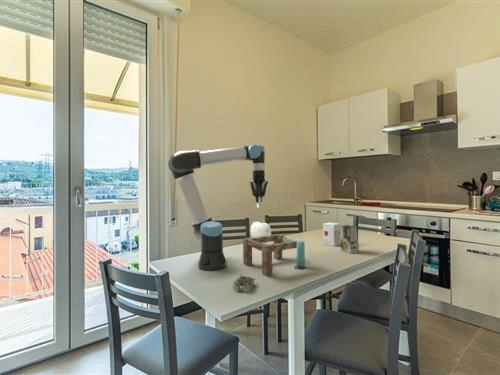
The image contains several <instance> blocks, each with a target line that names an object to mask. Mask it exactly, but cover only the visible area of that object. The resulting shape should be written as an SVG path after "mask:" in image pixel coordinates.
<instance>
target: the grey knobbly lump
mask: <svg viewBox="0 0 500 375" xmlns="http://www.w3.org/2000/svg"><path fill="white" fill-rule="evenodd" d="M255 281H256V278H255V277H254V278H253V277H252V276H245V275H243V274H242V275H240V276H239V277H238V278H236V280H235V281H233V282H232V286H233V290H234V291H236V292H237V293H238V292H243V293H247V292H250V291H251V289H252V288H253V287H254V286H255Z"/></svg>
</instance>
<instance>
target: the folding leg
mask: <svg viewBox="0 0 500 375" xmlns="http://www.w3.org/2000/svg"><path fill="white" fill-rule="evenodd" d="M291 241H295V242H297V248H296V264H297V265H296V266H298V267H306V253H305V251H306V250H305V248H306V247H305V241H299V240H295V239H291V238H287V237H286V236H284V237H283V242H282V243H284V242H291Z"/></svg>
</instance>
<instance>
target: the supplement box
mask: <svg viewBox="0 0 500 375" xmlns="http://www.w3.org/2000/svg"><path fill="white" fill-rule="evenodd" d="M341 226H342V224H341V223H338V222H325V223H323V224H322V230H323V231H322V232H323V235H322V236H323V237H322V238H323V240H322V241H323V245H324V246H330V247H337V246H341Z"/></svg>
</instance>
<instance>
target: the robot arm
mask: <svg viewBox="0 0 500 375" xmlns="http://www.w3.org/2000/svg"><path fill="white" fill-rule="evenodd" d="M265 151H266V150H265V146H264V145H261V144H260V145H259V144H251V145H245V146H236V147H229V148H220V149H213V150H203V151H199V150H198V149H196V150H180V151H176V152H175V153H173V154H172V155H171V156H170V157H169V159H168V163H167V166H168V168H169V171H170V172H171V173H172V175H173V179H174V180H175V181H177V182H178V184H179V186H180V189H181V191H182V194H183V197H184V199H185V202H186V205H187V208H188V210H189V213H190V216H191V218H192V222H191V226H192V229H193V235H194V237H195V238H196V239H197V240H198V241H199V242H200V250H201V251H200V252H201V253H200V256H199V259H198V263H197V266H198V269H199V270H202V271H216V270H222V269H224V268H226V267H227V259H226V256H225V253H224V247H223V246H224V244H223V242H224V240H223V237H224V234H223V232H224V231H223V224H222V223H221V222H218V221H213V219H212V216H211V215H208V214H207V211H206V209H205V205H204V203H203V200H202V197H201V194H200V192H199V189H198V186H197V184H196V181H195V178H194V175H195V171H194V170H196V169H201V168H202V167H204V166H210V165H217V164H223V163H230V162H238V161H239V162H241V161H252V180H250V181H249V182H248V183H249V185H250V189H251V193H252V196H253V197H254V198H255V203H256V208H257V209H261V208H262V202H263V198H264V197H265V195H266V190H267V186H268V184H269V181H267V180H266V178H265V173H266V171H265V169H266V168H265V166H266V165H265V154H266V152H265Z"/></svg>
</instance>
